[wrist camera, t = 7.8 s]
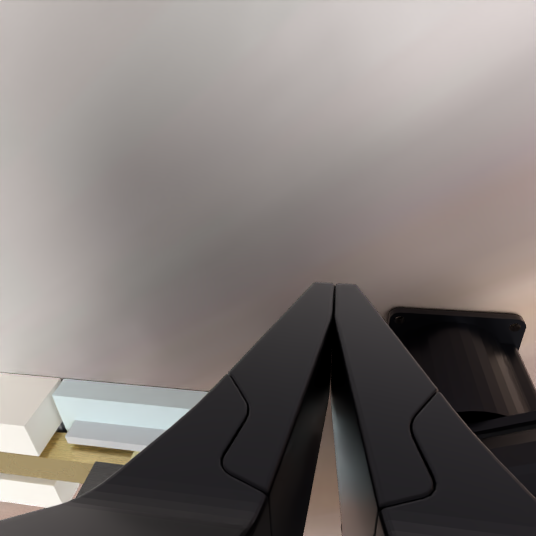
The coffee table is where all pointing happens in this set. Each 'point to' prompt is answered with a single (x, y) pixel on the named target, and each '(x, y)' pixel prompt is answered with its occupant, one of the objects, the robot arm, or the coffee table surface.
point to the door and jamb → (78, 424)
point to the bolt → (68, 463)
